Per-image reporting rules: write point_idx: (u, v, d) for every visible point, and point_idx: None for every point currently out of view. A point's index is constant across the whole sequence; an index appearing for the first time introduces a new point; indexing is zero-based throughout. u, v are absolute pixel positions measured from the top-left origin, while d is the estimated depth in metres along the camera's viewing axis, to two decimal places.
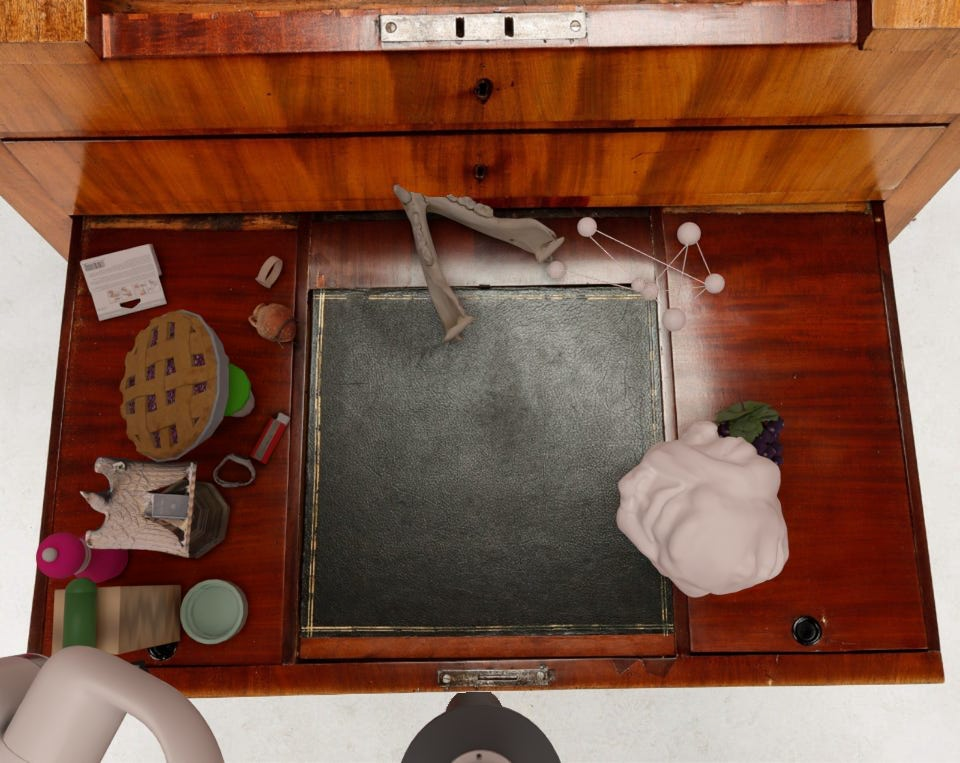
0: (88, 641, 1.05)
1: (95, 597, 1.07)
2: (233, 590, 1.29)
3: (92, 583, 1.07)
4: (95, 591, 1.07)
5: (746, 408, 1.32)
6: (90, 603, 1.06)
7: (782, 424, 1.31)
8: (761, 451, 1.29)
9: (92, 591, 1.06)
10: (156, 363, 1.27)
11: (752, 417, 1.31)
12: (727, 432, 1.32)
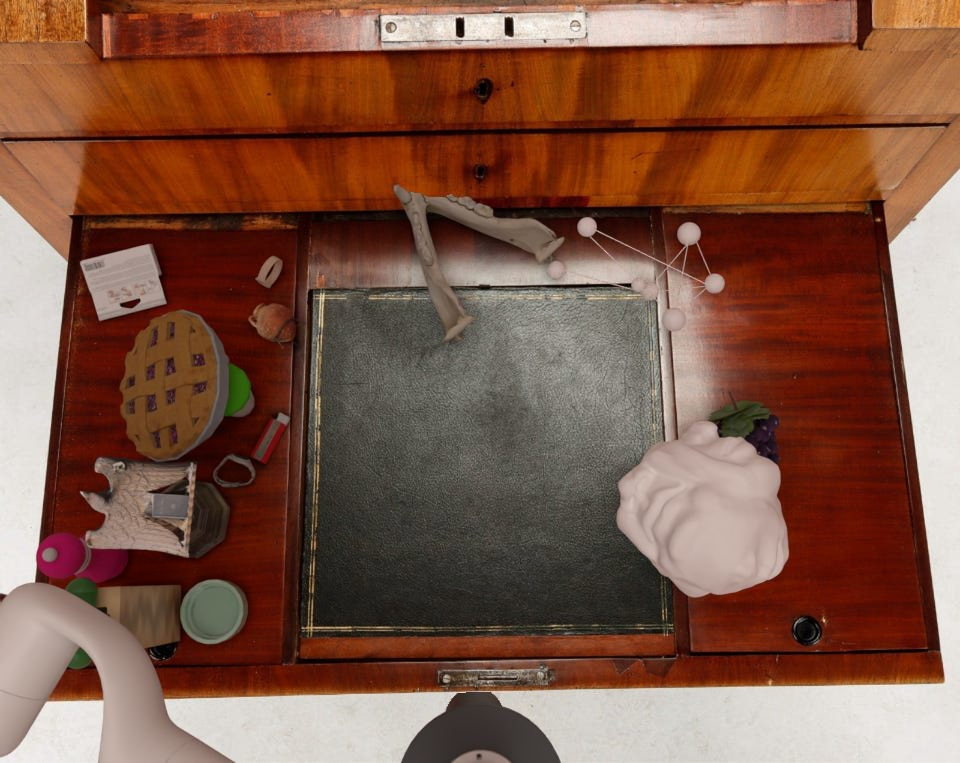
0: None
1: (95, 597, 1.07)
2: (233, 590, 1.29)
3: (92, 583, 1.07)
4: (95, 591, 1.07)
5: (739, 407, 1.33)
6: (90, 603, 1.06)
7: (775, 422, 1.31)
8: None
9: (92, 591, 1.06)
10: (156, 363, 1.27)
11: (743, 415, 1.31)
12: (720, 431, 1.33)
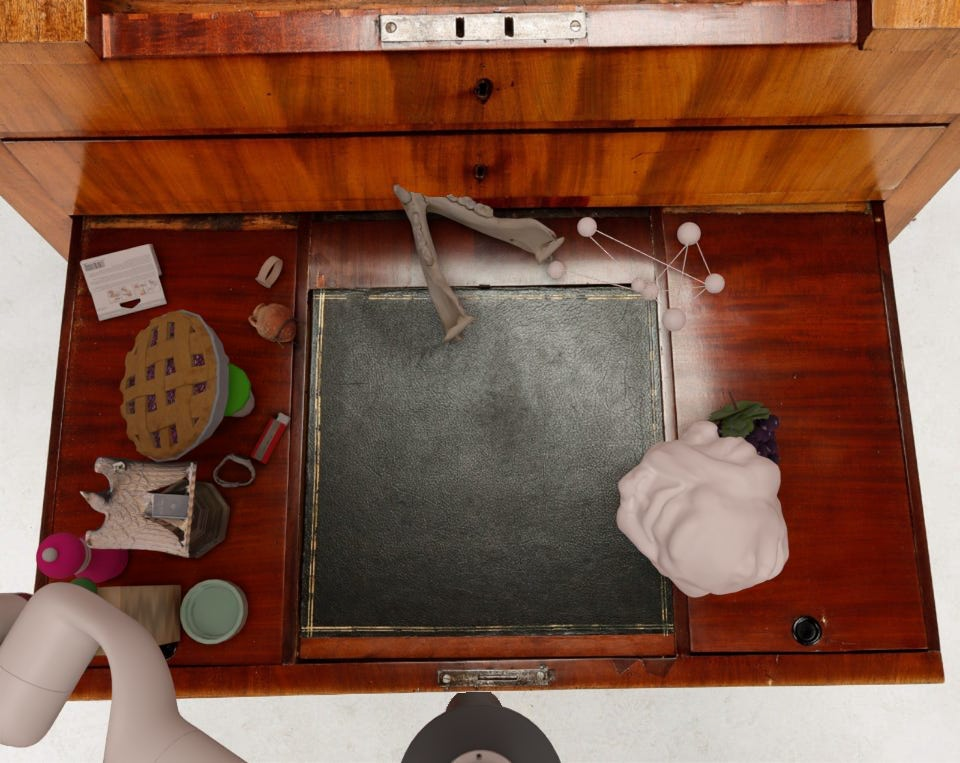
0: None
1: None
2: (233, 590, 1.29)
3: (92, 583, 1.07)
4: (95, 591, 1.07)
5: (739, 407, 1.33)
6: None
7: (775, 422, 1.31)
8: None
9: (92, 591, 1.06)
10: (156, 363, 1.27)
11: (743, 415, 1.31)
12: (720, 431, 1.33)
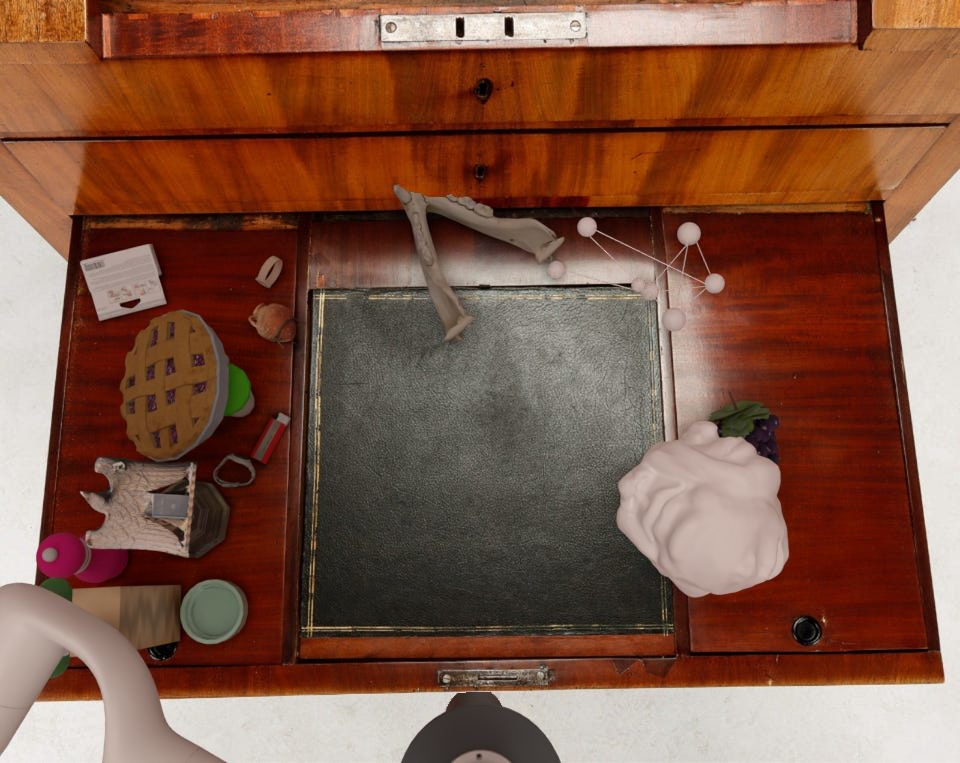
0: None
1: (70, 599, 0.97)
2: (233, 590, 1.29)
3: (66, 584, 0.97)
4: (70, 592, 0.97)
5: (739, 407, 1.33)
6: None
7: (775, 422, 1.31)
8: None
9: (66, 592, 0.97)
10: (156, 363, 1.27)
11: (743, 415, 1.31)
12: (720, 431, 1.33)
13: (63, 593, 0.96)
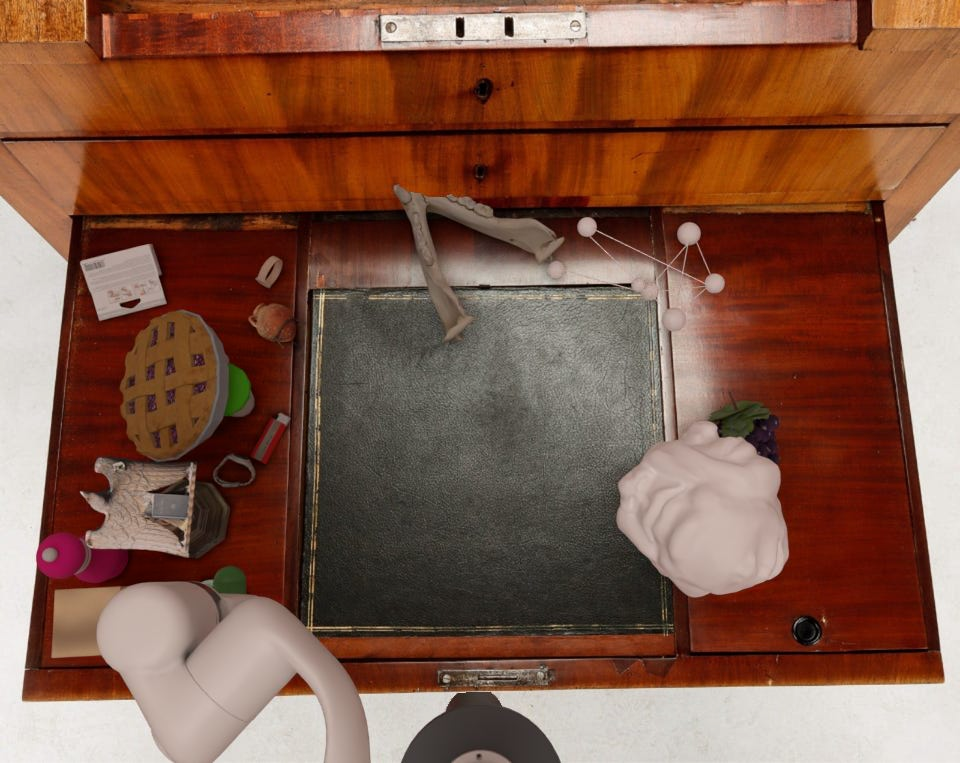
0: None
1: (245, 587, 1.00)
2: None
3: (241, 572, 1.00)
4: (245, 581, 1.00)
5: (739, 407, 1.33)
6: (241, 593, 0.99)
7: (775, 422, 1.31)
8: None
9: (242, 581, 0.99)
10: (156, 363, 1.27)
11: (743, 415, 1.31)
12: (720, 431, 1.33)
13: (240, 581, 0.99)
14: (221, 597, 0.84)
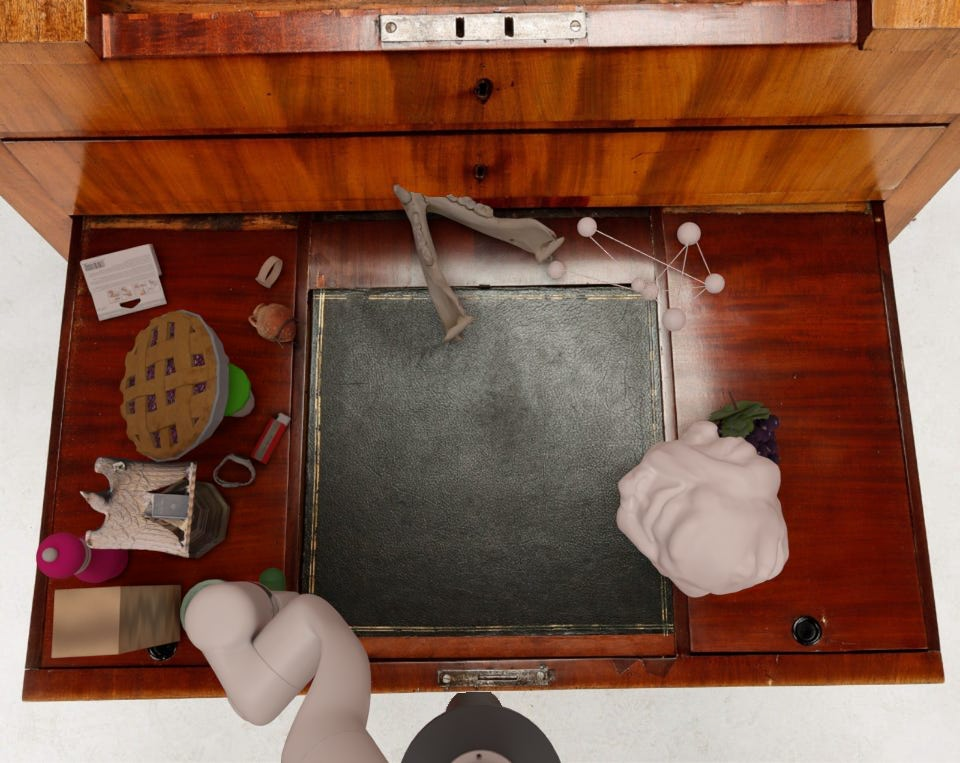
0: None
1: (285, 585, 1.22)
2: None
3: (282, 573, 1.22)
4: (285, 580, 1.22)
5: (739, 407, 1.33)
6: (282, 590, 1.21)
7: (775, 422, 1.31)
8: None
9: (283, 580, 1.21)
10: (156, 363, 1.27)
11: (743, 415, 1.31)
12: (720, 431, 1.33)
13: (281, 580, 1.21)
14: (272, 593, 1.06)
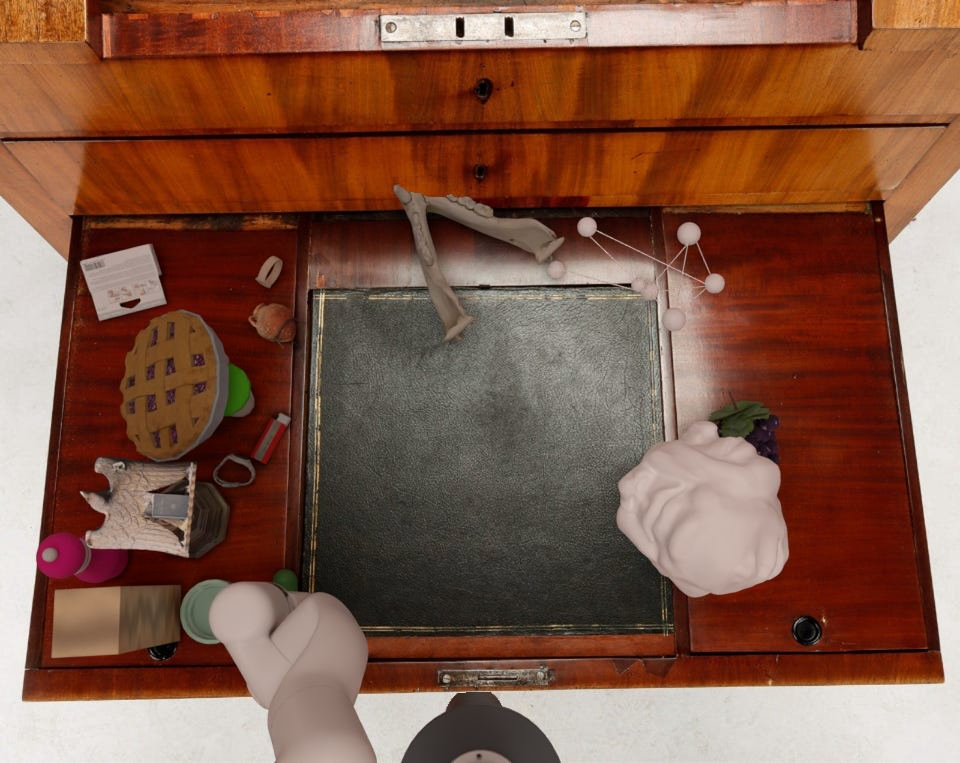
0: None
1: (296, 585, 1.30)
2: None
3: (293, 574, 1.31)
4: (296, 580, 1.31)
5: (739, 407, 1.33)
6: (292, 590, 1.30)
7: (775, 422, 1.31)
8: None
9: (293, 580, 1.30)
10: (156, 363, 1.27)
11: (743, 415, 1.31)
12: (720, 431, 1.33)
13: (292, 581, 1.30)
14: (288, 593, 1.15)
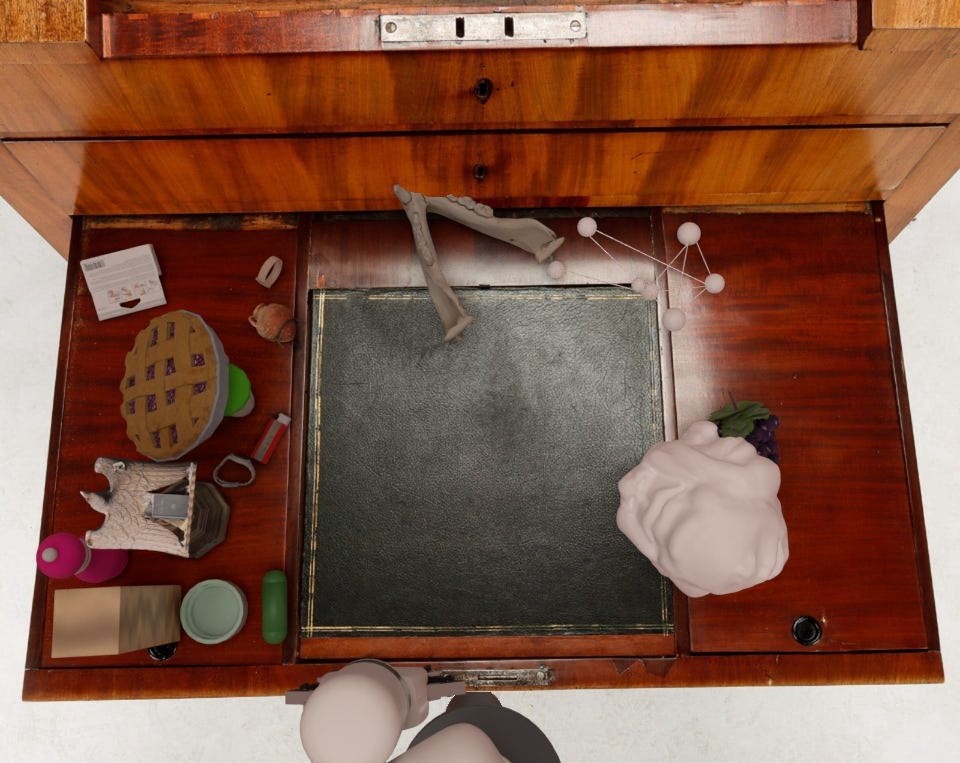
0: (272, 622, 1.28)
1: (278, 586, 1.29)
2: (233, 590, 1.29)
3: (276, 575, 1.30)
4: (278, 581, 1.29)
5: (739, 407, 1.33)
6: (272, 591, 1.29)
7: (775, 422, 1.31)
8: None
9: (274, 581, 1.29)
10: (156, 363, 1.27)
11: (743, 415, 1.31)
12: (720, 431, 1.33)
13: (271, 582, 1.29)
14: (401, 676, 0.78)
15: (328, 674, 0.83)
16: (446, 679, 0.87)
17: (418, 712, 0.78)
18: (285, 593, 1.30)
